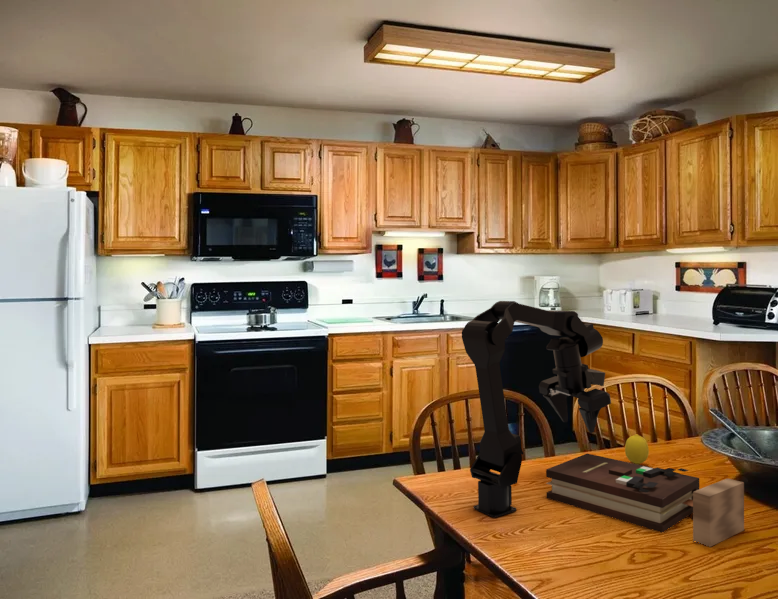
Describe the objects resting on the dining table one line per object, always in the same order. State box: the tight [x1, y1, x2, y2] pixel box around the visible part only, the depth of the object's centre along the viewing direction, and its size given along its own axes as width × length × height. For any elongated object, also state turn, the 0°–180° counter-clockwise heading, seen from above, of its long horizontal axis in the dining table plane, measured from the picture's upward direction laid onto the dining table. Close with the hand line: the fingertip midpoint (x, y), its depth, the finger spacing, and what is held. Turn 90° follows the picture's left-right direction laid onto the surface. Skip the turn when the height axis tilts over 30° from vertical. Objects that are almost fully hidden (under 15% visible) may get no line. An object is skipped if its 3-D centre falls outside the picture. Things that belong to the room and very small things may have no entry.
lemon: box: [624, 433, 650, 465], centre depth 153 cm, size 6×6×8 cm
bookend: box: [692, 477, 745, 548], centre depth 111 cm, size 12×3×9 cm, turn 124°
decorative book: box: [545, 452, 700, 533], centre depth 128 cm, size 19×8×30 cm
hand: (578, 426), depth 142 cm, fingers open, 9 cm apart
